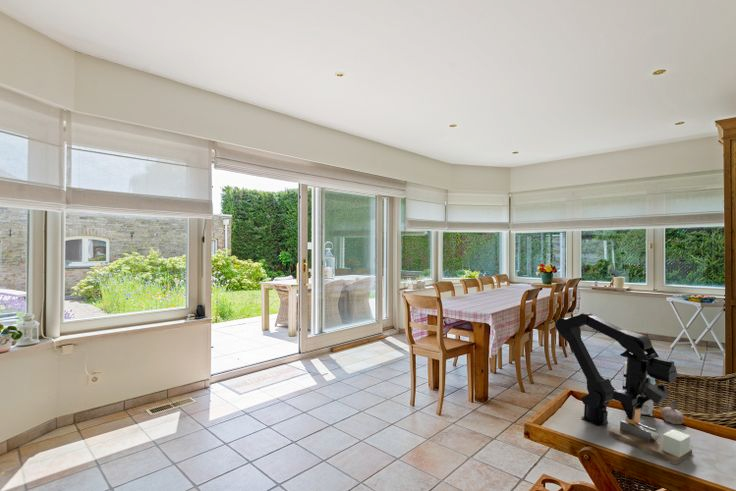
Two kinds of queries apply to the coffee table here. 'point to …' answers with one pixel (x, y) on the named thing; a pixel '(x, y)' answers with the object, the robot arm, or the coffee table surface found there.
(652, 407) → the candy box
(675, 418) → the garlic bulb
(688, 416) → the coffee table surface
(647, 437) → the channel
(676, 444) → the socket block
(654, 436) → the slip rod
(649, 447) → the base board
